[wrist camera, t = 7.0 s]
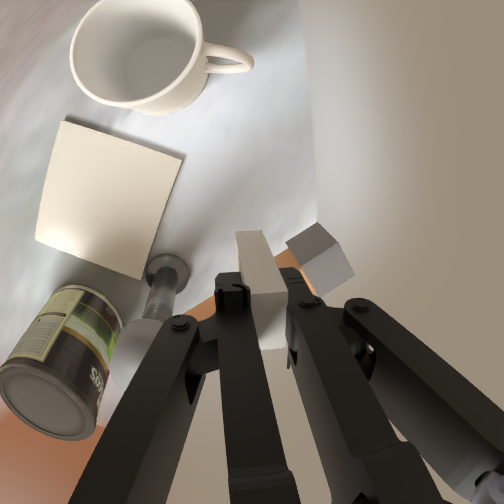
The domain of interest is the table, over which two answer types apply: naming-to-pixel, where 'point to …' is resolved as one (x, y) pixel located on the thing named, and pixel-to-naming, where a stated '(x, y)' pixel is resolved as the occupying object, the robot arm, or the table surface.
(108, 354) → the coffee can
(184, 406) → the robot arm
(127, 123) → the table surface
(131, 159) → the coaster
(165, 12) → the mug
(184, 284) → the post
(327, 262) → the swing arm
